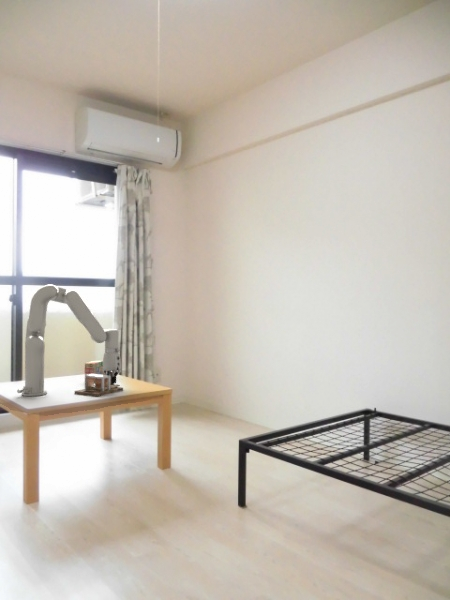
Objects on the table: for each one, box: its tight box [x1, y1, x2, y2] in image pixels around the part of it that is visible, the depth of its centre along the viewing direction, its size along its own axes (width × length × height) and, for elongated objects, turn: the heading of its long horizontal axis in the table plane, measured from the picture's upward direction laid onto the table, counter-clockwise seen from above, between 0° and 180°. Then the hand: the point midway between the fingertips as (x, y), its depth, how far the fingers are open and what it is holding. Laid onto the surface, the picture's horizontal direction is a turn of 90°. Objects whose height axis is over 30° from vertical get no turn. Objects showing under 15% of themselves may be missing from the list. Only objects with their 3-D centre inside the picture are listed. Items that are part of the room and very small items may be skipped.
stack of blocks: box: [84, 360, 106, 384], centre depth 300 cm, size 21×6×12 cm, turn 164°
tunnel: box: [84, 374, 111, 392], centre depth 260 cm, size 6×13×8 cm, turn 63°
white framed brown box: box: [92, 371, 121, 390], centre depth 267 cm, size 13×9×8 cm
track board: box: [74, 386, 124, 398], centre depth 262 cm, size 21×16×2 cm
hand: (111, 382), depth 271 cm, fingers closed on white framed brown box, 3 cm apart
